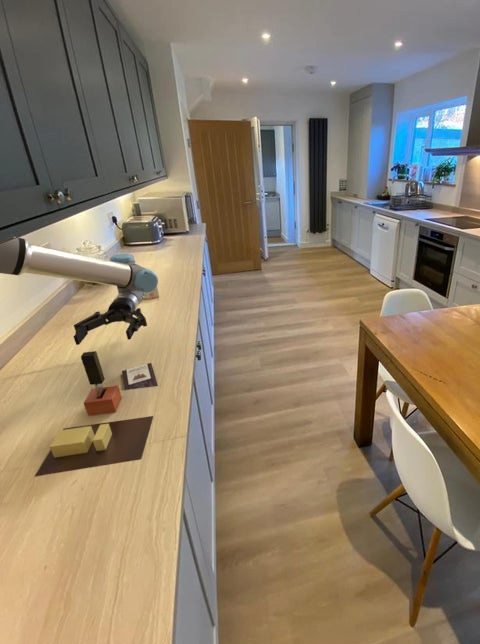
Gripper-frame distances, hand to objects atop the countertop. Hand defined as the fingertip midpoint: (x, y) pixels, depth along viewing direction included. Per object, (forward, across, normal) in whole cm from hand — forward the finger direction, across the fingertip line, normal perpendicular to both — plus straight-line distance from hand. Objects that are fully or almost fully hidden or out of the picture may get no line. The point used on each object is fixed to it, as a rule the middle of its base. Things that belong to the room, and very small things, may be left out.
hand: (102, 338), depth 92 cm
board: (+23, -3, -18) cm, 30 cm away
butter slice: (+23, -4, -16) cm, 29 cm away
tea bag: (-74, +4, -18) cm, 76 cm away
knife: (+10, 0, -18) cm, 20 cm away
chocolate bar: (-1, -6, -18) cm, 19 cm away
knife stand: (+10, 0, -18) cm, 20 cm away
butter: (+23, +3, -16) cm, 29 cm away
